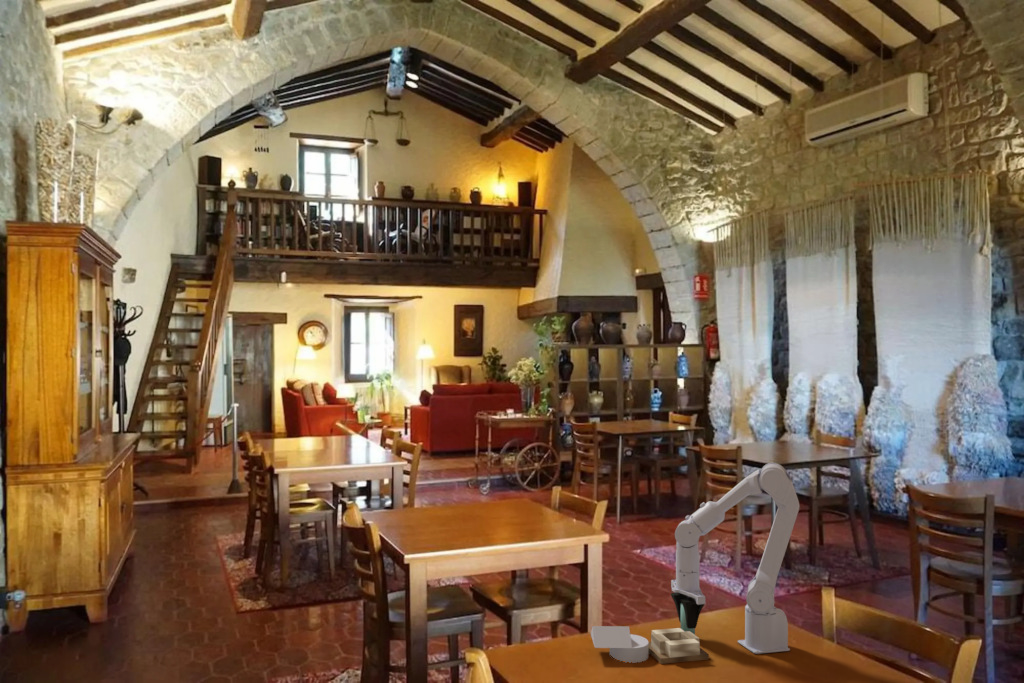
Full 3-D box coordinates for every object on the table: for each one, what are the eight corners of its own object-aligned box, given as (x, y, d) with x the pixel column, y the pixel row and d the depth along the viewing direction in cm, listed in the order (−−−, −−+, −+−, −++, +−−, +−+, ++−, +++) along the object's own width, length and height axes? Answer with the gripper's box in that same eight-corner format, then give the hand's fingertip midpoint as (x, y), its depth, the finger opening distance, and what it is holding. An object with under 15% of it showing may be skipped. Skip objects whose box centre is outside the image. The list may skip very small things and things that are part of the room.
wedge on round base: (594, 662, 174) (651, 663, 174) (594, 632, 174) (651, 633, 174) (590, 647, 183) (644, 648, 183) (590, 619, 183) (644, 619, 183)
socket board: (688, 643, 186) (688, 627, 186) (708, 659, 176) (708, 641, 176) (642, 647, 183) (642, 630, 183) (660, 663, 173) (660, 646, 174)
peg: (690, 630, 192) (690, 602, 192) (697, 634, 188) (697, 606, 189) (678, 631, 191) (678, 603, 191) (684, 636, 188) (684, 607, 188)
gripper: (660, 563, 196) (660, 616, 196) (686, 579, 182) (686, 636, 182) (685, 561, 198) (685, 614, 198) (713, 577, 184) (713, 634, 184)
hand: (687, 625), depth 190 cm, fingers closed on peg, 3 cm apart
